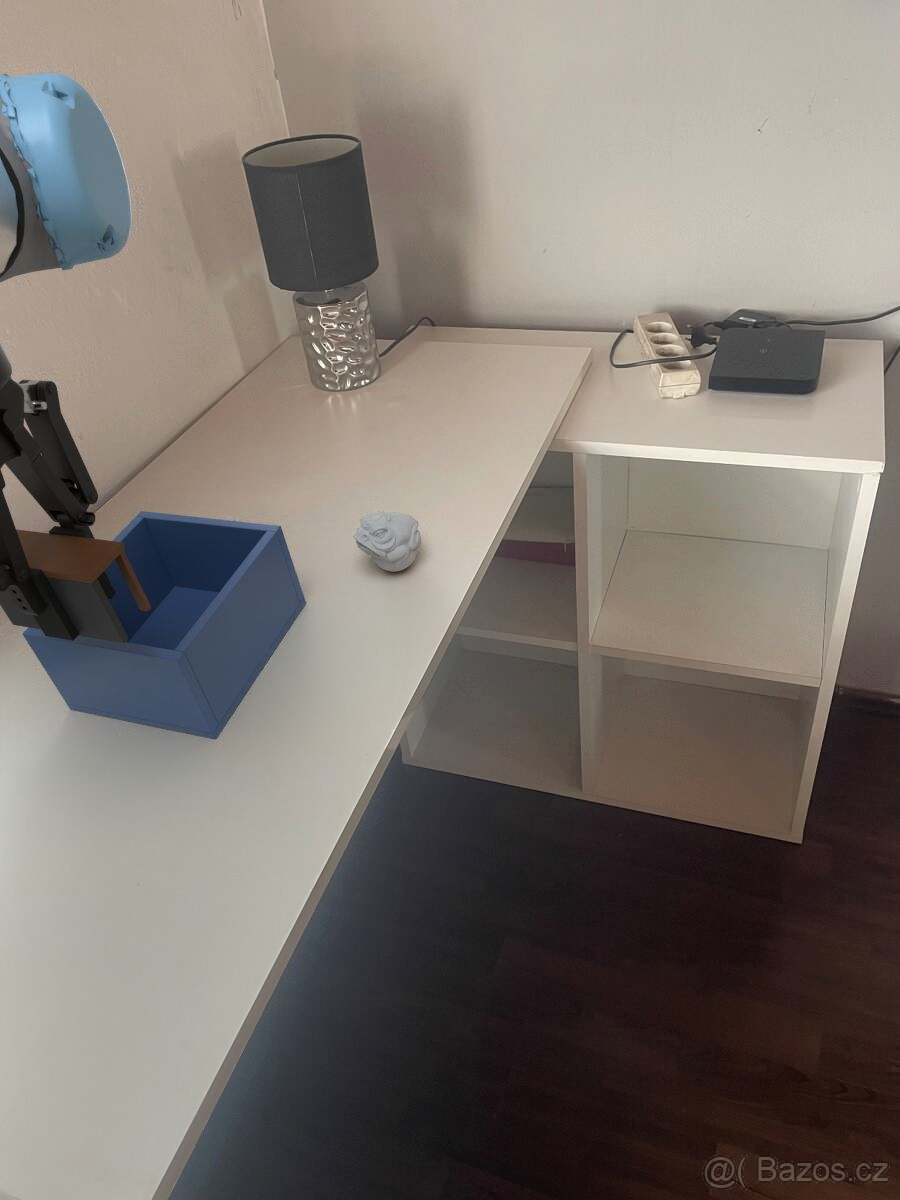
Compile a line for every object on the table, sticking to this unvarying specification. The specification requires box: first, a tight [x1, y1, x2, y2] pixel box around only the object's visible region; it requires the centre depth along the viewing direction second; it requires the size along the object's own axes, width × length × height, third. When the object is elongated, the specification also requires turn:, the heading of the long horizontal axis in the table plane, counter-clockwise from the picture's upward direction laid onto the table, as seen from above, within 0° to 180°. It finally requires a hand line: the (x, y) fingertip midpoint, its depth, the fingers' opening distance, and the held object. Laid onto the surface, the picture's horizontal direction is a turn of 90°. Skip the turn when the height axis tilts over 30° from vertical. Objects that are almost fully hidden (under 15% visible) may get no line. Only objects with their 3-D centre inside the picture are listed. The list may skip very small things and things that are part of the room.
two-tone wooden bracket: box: [0, 528, 151, 643], centre depth 66 cm, size 4×11×7 cm, turn 71°
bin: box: [22, 510, 307, 740], centre depth 81 cm, size 18×16×10 cm
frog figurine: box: [352, 510, 422, 572], centre depth 88 cm, size 6×7×7 cm
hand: (81, 613), depth 68 cm, fingers closed on two-tone wooden bracket, 4 cm apart
